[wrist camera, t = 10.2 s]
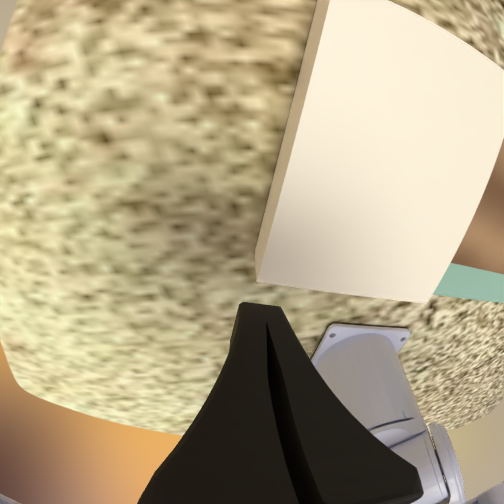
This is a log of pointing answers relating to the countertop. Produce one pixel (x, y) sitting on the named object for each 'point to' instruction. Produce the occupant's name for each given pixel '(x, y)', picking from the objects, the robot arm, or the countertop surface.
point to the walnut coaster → (486, 226)
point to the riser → (380, 155)
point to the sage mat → (471, 284)
